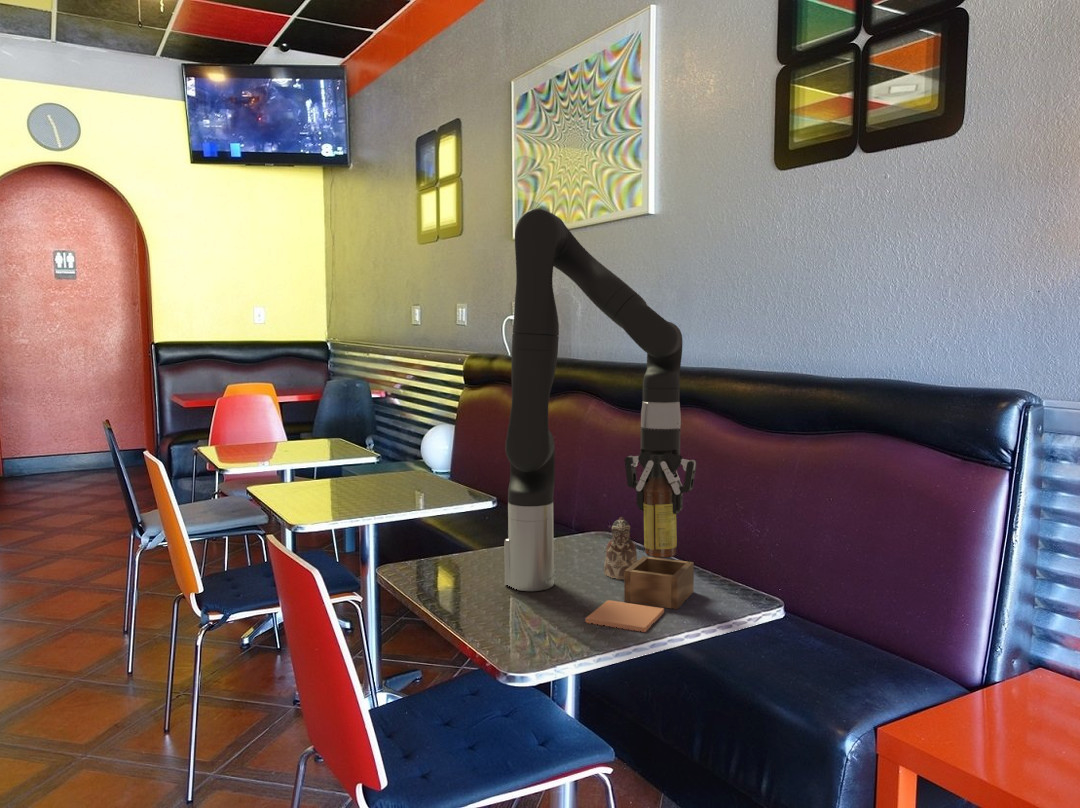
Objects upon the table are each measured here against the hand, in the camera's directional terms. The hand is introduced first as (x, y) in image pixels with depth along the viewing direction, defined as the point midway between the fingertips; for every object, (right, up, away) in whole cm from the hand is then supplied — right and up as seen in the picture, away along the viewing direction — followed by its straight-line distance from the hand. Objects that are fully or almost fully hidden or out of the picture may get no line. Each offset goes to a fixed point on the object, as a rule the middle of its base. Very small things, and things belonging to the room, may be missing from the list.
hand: (659, 511), depth 151 cm
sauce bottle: (0, -9, +1) cm, 9 cm away
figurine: (-6, -16, +16) cm, 24 cm away
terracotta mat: (-8, -18, -10) cm, 22 cm away
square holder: (0, -17, +1) cm, 17 cm away
